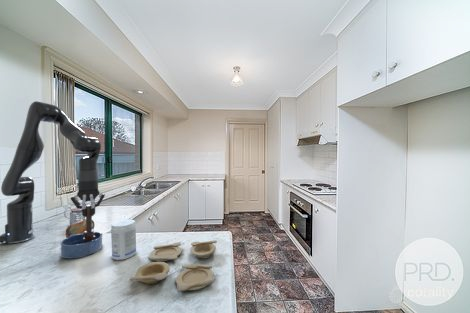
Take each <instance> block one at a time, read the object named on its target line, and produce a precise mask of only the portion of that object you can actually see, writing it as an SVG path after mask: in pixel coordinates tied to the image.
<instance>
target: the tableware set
mask: <svg viewBox="0 0 470 313" xmlns="http://www.w3.org/2000/svg"><path fill="white" fill-rule="evenodd" d="M217 242H218V241H217V240H216V239H215V240H207V241H192V242H191V243H190V245H191V247H190V248H189V252H190V254H191V255H193V256H195V257H196V258H197V259H207V258H210V256H211V255H212V254H213V253H215V252H216V250H217V246H216V245H215V244H217ZM181 245H182V244H181V241H177V242H173V243H171V244H164V245H162V244H161V245H155V246H153V250H151V251H150V253H149V257H148V260H149V261H153V262H150V263H146V264H145V265H142V266H141V267H139V268H138V269H137V270H136V272H135V275H134V276H130V277H129V281H130V282H133V281H134V282H135V281H139V282H142V283H144V284H147V285H153V284H156V283H158V282H160V281H161V280H164V279H166V278H168V274H169V272H170V270H171V269H170V264H168V262H169V261H177V260H178V257H179V256H180V255H181V254H182V251H183V250H182V248H181V247H180V246H181ZM166 262H167V263H166ZM181 268H182V269H183V270H181V271H180V272H179V273H178V274H177V276H176V277H175V283H176V290H177V293H178V292H185V291H196V290H201V289H203V288H205V287H207V286H208V285H212V284H214V283H215V281H214V277H215V276H214V272H213V270H212V268H213V265H211V264H210V265H209V264H196V263H182V265H181Z"/></svg>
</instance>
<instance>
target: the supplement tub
mask: <svg viewBox="0 0 470 313" xmlns="http://www.w3.org/2000/svg"><path fill="white" fill-rule="evenodd" d="M110 226H111V228H110V237H111V258H112V259H113V260H115V261H120V260H126V259H129V258H131V257H133V256H134V255H136V253H137V227H136V221H135V220H134V219H130V218H129V219H121V220H116V221H114V222H113V223H112V224H110Z"/></svg>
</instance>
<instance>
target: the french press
mask: <svg viewBox="0 0 470 313" xmlns="http://www.w3.org/2000/svg"><path fill="white" fill-rule="evenodd" d="M74 188H76V189H78V185H76V186H75V187H74ZM78 199H79V198H78ZM78 199H77V200H78ZM78 202H79V203H80V205H82V200H78ZM72 206H75V204H74V203H73V202H72V201H71V202H70V203H69V206H68V207H66V208H65V209H64V211H63V216H64V218H66V219H68V220H69V224H68V226H70V225H71V224H74V223H77V222H79V221H82V220H85V219H86V217H84V216H82V209H80V208H77V207H76V208H73V209H72ZM68 209H69V210H70V213H69V217H67V211H68Z"/></svg>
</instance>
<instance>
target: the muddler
mask: <svg viewBox="0 0 470 313" xmlns="http://www.w3.org/2000/svg"><path fill="white" fill-rule="evenodd" d="M91 208H92V206H91V204H88V205H87V204H86V217H85V219H86V231H85V232H84V238H83V243H87V242H90V241H93V240H95V236H94V232H95V230H94V229H93V230H92V220H93V216H91Z"/></svg>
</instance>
